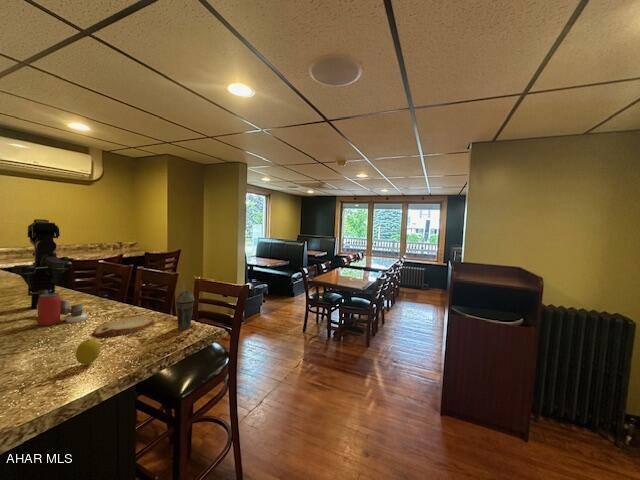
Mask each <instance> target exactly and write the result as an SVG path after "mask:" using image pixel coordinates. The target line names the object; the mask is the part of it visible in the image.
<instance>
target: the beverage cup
mask: <svg viewBox="0 0 640 480" xmlns="http://www.w3.org/2000/svg"><path fill="white" fill-rule="evenodd" d="M182 287H183V291H182V292H180V293H179V294H177V297H176V299H175V305H176V306H175V307H176V317H177V320H176V321H177V327H178V328H177V329H178V330H181V331H184V330H185V331H186V330H189V329H190V328H191V324H192V315H193V308H194V305H195V297H194V294H193V293H191V291H186V289H185V281H182Z"/></svg>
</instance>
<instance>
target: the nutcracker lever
mask: <svg viewBox="0 0 640 480" xmlns="http://www.w3.org/2000/svg"><path fill="white" fill-rule="evenodd" d="M47 293H48V290H40V291H39V298H40V295H42V294H47ZM69 305H70V304H69V300H68V299H62V298H61V311H60V316H61V315H64V316H67V315H70V314H71V316H79V315H82V313H83V307H84V306H83V304H81V303H80V304H73V305H71V306H69ZM36 309H37V310H38V304H37V308H36Z"/></svg>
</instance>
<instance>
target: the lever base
mask: <svg viewBox="0 0 640 480" xmlns="http://www.w3.org/2000/svg"><path fill="white" fill-rule="evenodd" d="M87 320H88V313H87V312H82V315H79V316H71V313H69V314H67V315H65V323H68V324H74V323H76V324H77V323H81V322H84V321H87Z"/></svg>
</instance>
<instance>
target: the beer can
mask: <svg viewBox="0 0 640 480" xmlns="http://www.w3.org/2000/svg"><path fill="white" fill-rule="evenodd" d="M61 299H62V298H61V296H60V293H58V292H55V293H47V294H42V295H40V298H39V300H38V309H37V325H38V326H40V327H42V326H43V327H45V326H46V327H47V326H52V325H57V324H58V323H60V322H61V314H60V311H61Z"/></svg>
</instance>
